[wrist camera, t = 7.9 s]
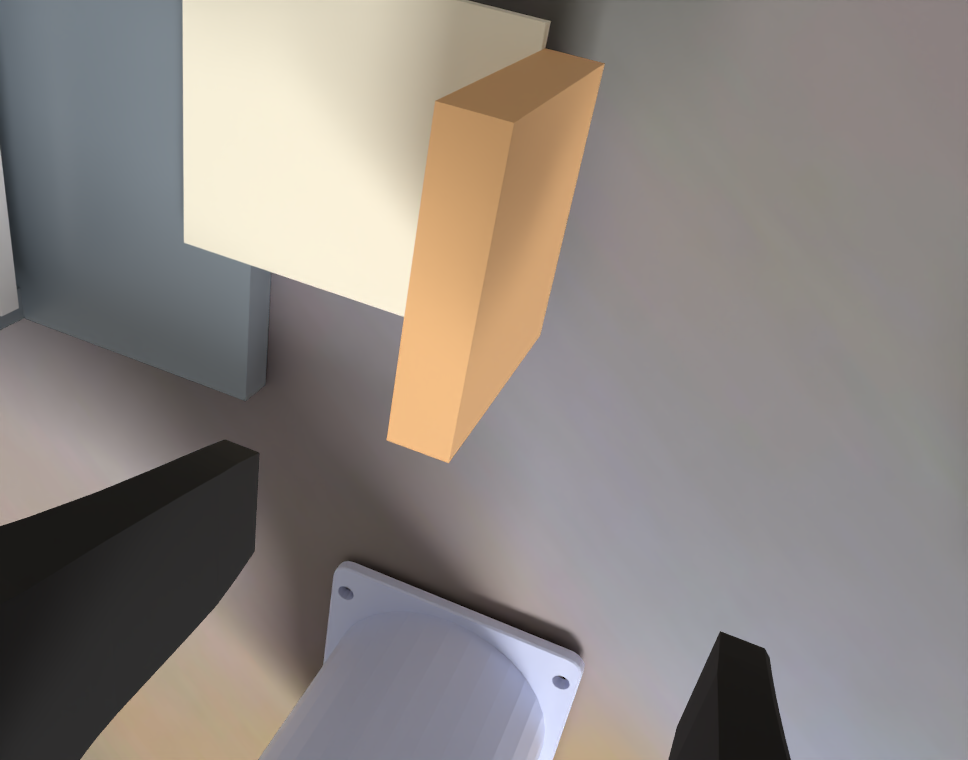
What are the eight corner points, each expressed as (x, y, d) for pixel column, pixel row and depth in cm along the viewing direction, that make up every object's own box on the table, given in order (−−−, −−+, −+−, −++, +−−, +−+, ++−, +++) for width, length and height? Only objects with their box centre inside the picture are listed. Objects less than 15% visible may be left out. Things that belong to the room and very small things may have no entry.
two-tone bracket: (611, 36, 17) (521, 86, 12) (535, 354, 20) (444, 485, 16) (191, -69, 18) (-25, -61, 14) (191, 238, 22) (21, 325, 18)
